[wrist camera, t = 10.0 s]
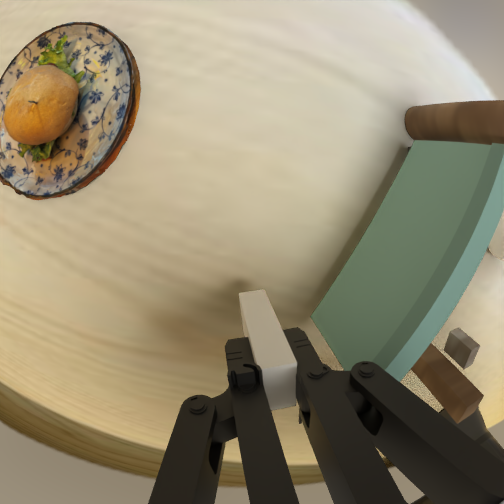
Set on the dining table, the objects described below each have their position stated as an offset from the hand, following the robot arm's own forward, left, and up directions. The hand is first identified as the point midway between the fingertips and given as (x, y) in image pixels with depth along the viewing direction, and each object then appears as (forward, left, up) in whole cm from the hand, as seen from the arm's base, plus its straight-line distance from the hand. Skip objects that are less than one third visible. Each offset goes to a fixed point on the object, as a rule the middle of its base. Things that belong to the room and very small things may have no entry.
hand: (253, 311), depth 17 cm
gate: (+3, -9, -1) cm, 9 cm away
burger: (+14, +11, -3) cm, 18 cm away
